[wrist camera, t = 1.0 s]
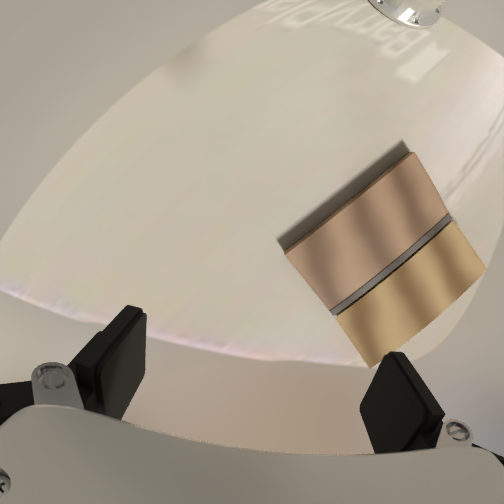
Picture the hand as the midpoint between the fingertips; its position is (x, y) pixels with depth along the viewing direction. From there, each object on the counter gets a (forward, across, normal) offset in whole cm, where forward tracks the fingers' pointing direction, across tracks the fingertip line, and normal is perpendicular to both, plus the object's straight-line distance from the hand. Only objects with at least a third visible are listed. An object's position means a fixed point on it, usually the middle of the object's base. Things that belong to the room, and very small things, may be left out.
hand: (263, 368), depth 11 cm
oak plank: (+23, -20, +3) cm, 31 cm away
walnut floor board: (+25, -13, -3) cm, 29 cm away
